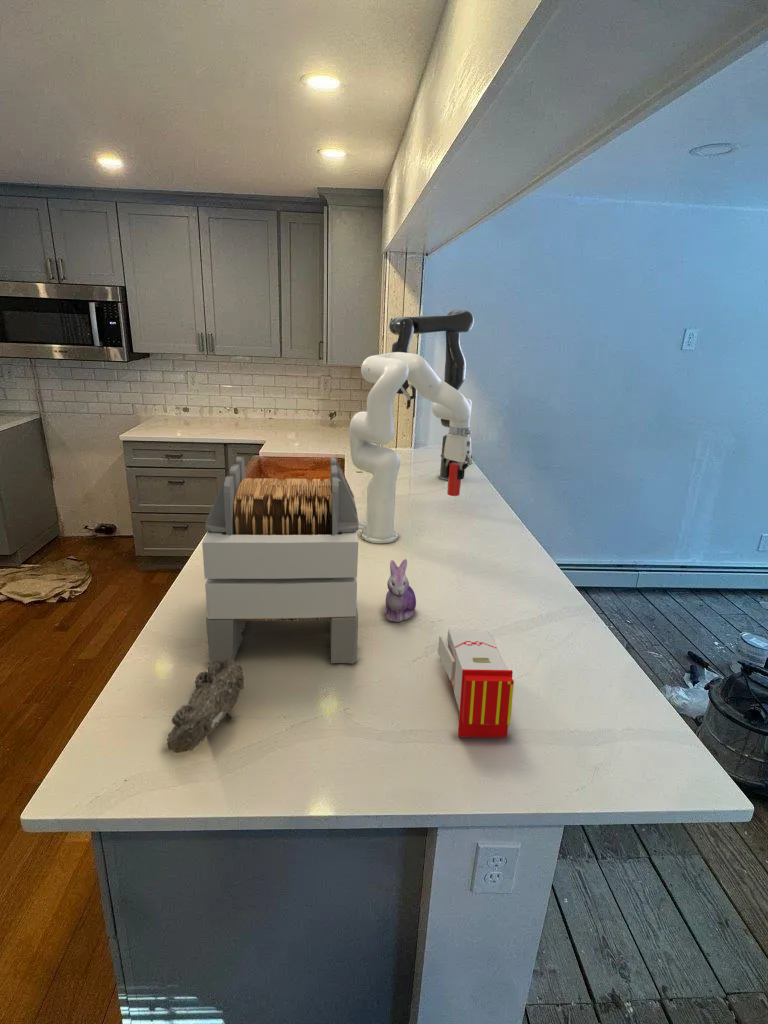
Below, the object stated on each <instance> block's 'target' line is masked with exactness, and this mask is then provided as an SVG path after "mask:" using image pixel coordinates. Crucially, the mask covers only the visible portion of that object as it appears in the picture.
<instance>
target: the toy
mask: <svg viewBox="0 0 768 1024" xmlns="http://www.w3.org/2000/svg"><path fill="white" fill-rule="evenodd" d="M446 640H447V643H446V641H445V639H444V636H443V635H442V634H439V637H438V646H437V656H438V657H439V659H440V661H441V663H442V666H443V668H444V670H445V672H446V674H447V677H448V679H449V681H450V684H451V687H452V690H453V693H454V697H455V701H456V705H457V708H458V711H459V714H458V715H459V716H458V730H457V731H458V732H457V737H458V738H508V731H509V726H510V725H511V717H512V707H513V697H514V696H513V695H514V684H515V680H514V679H513V673H514V671H513V670H512V669H508V667H507V665H506V662H505V661H504V659H503V658H502V655H501V653H500V651H499V649H498V647H497V643H496V639H495V637H494V635H493V634H491V632H490V631H489V629H467V628H466V629H465V628H463V629H461V628H460V629H459V628H448V630H447V639H446Z"/></svg>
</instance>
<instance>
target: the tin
mask: <svg viewBox="0 0 768 1024" xmlns="http://www.w3.org/2000/svg"><path fill="white" fill-rule="evenodd" d="M458 470H460V468H459V463H450V468H449V479H448V480H447V491H446V494H447V495H448V496H451V497H459V496H460V494H461V482H462V479H461V480H458V479H457V478H458Z"/></svg>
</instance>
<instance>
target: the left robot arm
mask: <svg viewBox="0 0 768 1024" xmlns="http://www.w3.org/2000/svg"><path fill="white" fill-rule="evenodd" d="M360 373H361V376H362V378H363V379H364V380H365V381H366V382H367V383H370V384H374V385H373V386H372V387H371V389H370V390H369V392H368V395H367V398H366V410H365V411H364V410H363V411H358V412H356V413H355V414H354V415H353V416H352V418H351V420H350V423H349V426H348V427H349V430H348V431H349V433H348V434H349V447H350V457H351V462H352V464H353V466H354V467H355V468H357V469H358V470H360V471H363V472H366V473H369V474H372V477H371V479H370V480H369V482H368V485H367V489H366V490H367V491H366V519H365V520H366V521H364V522H362V521H359V529H358V530H361V534H360V535H361V538H362V539H363V540H364V541H366V542H368V543H373V544H389V543H393V542H395V541H397V540H398V537H399V534H398V532H397V531H396V530H395V528H394V527H395V510H396V509H395V508H396V507H395V506H396V491H397V490H396V489H397V481H398V480H397V479H398V474H399V470H400V466H401V458H400V455H399V454H398V452H397V451H395V450H394V449H391V448H389V447H386V446H385V445H389V444H390V443H392V441H393V439H394V437H395V416H394V414H395V413H394V412H395V411H394V401H395V398H396V395H397V394H398V393H397V392H398V390H399V389H400V387H401V386H402V385H403V384H404V382H405V381H406V379H407V380H408V383H409V384H412V385H413V387H414V388H415V391H416V392H417V393H418V394H419V395H420V396H421V397H422V398H424V399H426V400H428V401H430V402H432V403H433V404H432V407H431V409H432V410H431V411H432V413H433V415H434V416H435V417H436V418H438V419H439V420H441V419H444V420H450V425H449V427H448V433H447V434H446V435H447V438H446V442H445V447H444V452H443V453H442V452H441V454H440V458H441V457H442V459H443V460H444V462H445V466H447V468H446V476H447V477H448V476H449V468H450V463H453V461H457V462H459V468H460V470H458V478H457V479H458V480H461V481H462V480H463V479H464V478H465V472H466V469H467V468H468V467H470V466H471V465H473V464H474V462H473V460H472V459H471V455H472V437H471V434H472V430H471V429H470V425H471V417H472V406H473V405H472V404H473V402H472V400H471V398H467V397H465V396H464V395H463V393H461V392H460V391H459V389H458V390H456V389H455V388H453V387H452V386H450V385H449V384H447V383H446V382H444V379H443V380H442V379H441V378H440V377H439V376H438V374H437V373H436V372H435V371H434V370H433V367H431V365H430V364H429V363H428V362H427V360H426V359H425V358H424V357H423V356H422V355H421V354H418V353H412V352H409V353H404V352H393V353H392V352H387V353H380V354H374V355H370V356H368V357H366V358H365V359H364V360H363V362H362V364H361V366H360ZM396 393H397V394H396Z"/></svg>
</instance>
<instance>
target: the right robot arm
mask: <svg viewBox="0 0 768 1024" xmlns="http://www.w3.org/2000/svg"><path fill="white" fill-rule="evenodd" d="M474 323H475V319H474V314H473V313H471V312H470V311H468V310H466V309H451V310H449V311H448V312H447V314H446V315H438V314H437V315H435V314H434V315H433V314H429V315H428V314H427V315H415V316H395V317H393V318H392V319H391V320H390V322H389V325H388V328H389V331H390V332H391V334H393V335H395V336H398V337H397V341H394V342H393V343H392V345H391V353H393V352H404V353H410V346H411V343H412V340H413V336H414V335H422V334H432V333H439V332H445V362H444V379H443V381H444V382H446V383H447V384H449V385H450V386H452V387H453V388H455V389H456V390H458V391H459V390H460V388H461V387H462V386H463V384H464V382H465V379H466V368H467V364H466V363H467V361H466V358H465V355H464V353H463V350H462V348H461V342H460V338H461V334H465V333H468V332H470V331H471V330H472V328H473V326H474ZM408 388H409V389H410V390H411V395H410V393H409V392H408V391H407V390H408ZM398 394H399V395H403V394H404V396H405V397H406V398H407V400H406V410H409V409H410V408H411V403H412V400H414V399H416V389H415V388H414V387H413V385H412V384H411V383H409V381H408V380H407V379H406V381H405V382H404V384H403V385H402V386H401V387H400V389H399V390H398V392H397V393H396V395H398ZM440 424H441V425H442V426H443V427H445V428H449V425H450V420H444V419H440ZM446 438H447V434H444V435H443V436H442V442H441V443H442V444H441V454H442V453H443V452H444V447H445V442H446ZM440 458H441V459H440V469H439V479H441V480H444V481H448V479H449V476H448V477H447V476H446V468H447V466H445V462H444V460H443V459H442V457H441V456H440ZM472 459H473V455H472V454H471V460H472ZM453 463H459V462H457V461H453Z"/></svg>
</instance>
